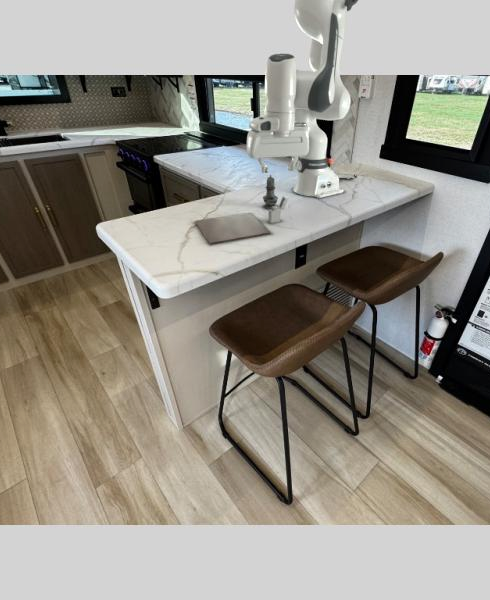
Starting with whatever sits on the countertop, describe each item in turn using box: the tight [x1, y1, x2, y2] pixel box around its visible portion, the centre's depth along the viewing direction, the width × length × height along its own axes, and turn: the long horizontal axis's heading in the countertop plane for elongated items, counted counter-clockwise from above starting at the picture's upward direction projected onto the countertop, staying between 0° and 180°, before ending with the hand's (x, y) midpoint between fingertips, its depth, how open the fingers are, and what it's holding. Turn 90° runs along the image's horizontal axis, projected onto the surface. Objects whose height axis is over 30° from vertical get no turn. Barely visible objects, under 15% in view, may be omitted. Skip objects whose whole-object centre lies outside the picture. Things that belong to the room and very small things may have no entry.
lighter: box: [268, 196, 289, 224], centre depth 109 cm, size 7×2×8 cm, turn 126°
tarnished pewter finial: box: [262, 174, 279, 210], centre depth 118 cm, size 6×6×12 cm
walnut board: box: [194, 212, 271, 246], centre depth 105 cm, size 20×18×1 cm
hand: (278, 171), depth 102 cm, fingers open, 8 cm apart
